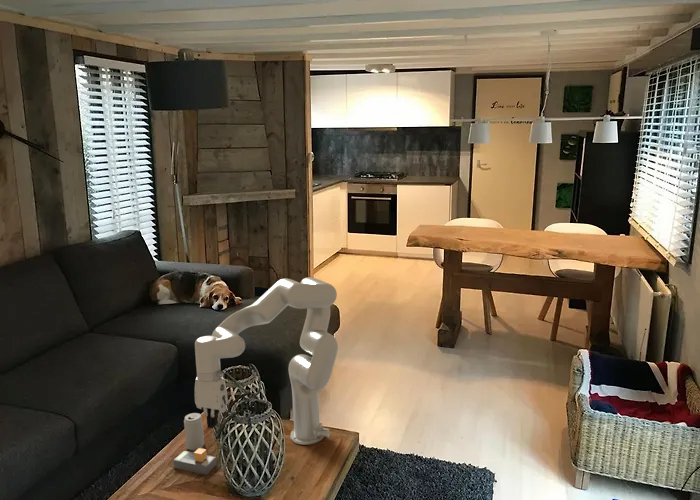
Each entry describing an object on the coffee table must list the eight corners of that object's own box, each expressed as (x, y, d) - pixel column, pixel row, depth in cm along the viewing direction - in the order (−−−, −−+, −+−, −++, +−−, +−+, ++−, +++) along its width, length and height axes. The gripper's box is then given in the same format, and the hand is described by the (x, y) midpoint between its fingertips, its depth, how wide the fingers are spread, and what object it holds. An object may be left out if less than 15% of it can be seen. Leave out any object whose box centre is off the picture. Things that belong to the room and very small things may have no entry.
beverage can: (182, 448, 206) (179, 418, 203) (195, 440, 211) (192, 410, 208) (196, 453, 203) (193, 422, 200) (208, 444, 208) (205, 414, 206)
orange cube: (207, 457, 194) (206, 449, 193) (202, 462, 191) (201, 454, 190) (199, 455, 195) (199, 447, 194) (194, 460, 192) (193, 452, 192)
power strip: (216, 464, 195) (215, 456, 194) (206, 474, 190) (205, 466, 189) (185, 458, 200) (184, 450, 199) (174, 467, 194) (173, 459, 193)
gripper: (235, 372, 185) (238, 424, 188) (196, 366, 190) (200, 417, 194) (222, 382, 178) (225, 435, 182) (182, 375, 183) (186, 427, 187)
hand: (212, 426), depth 188 cm, fingers closed
